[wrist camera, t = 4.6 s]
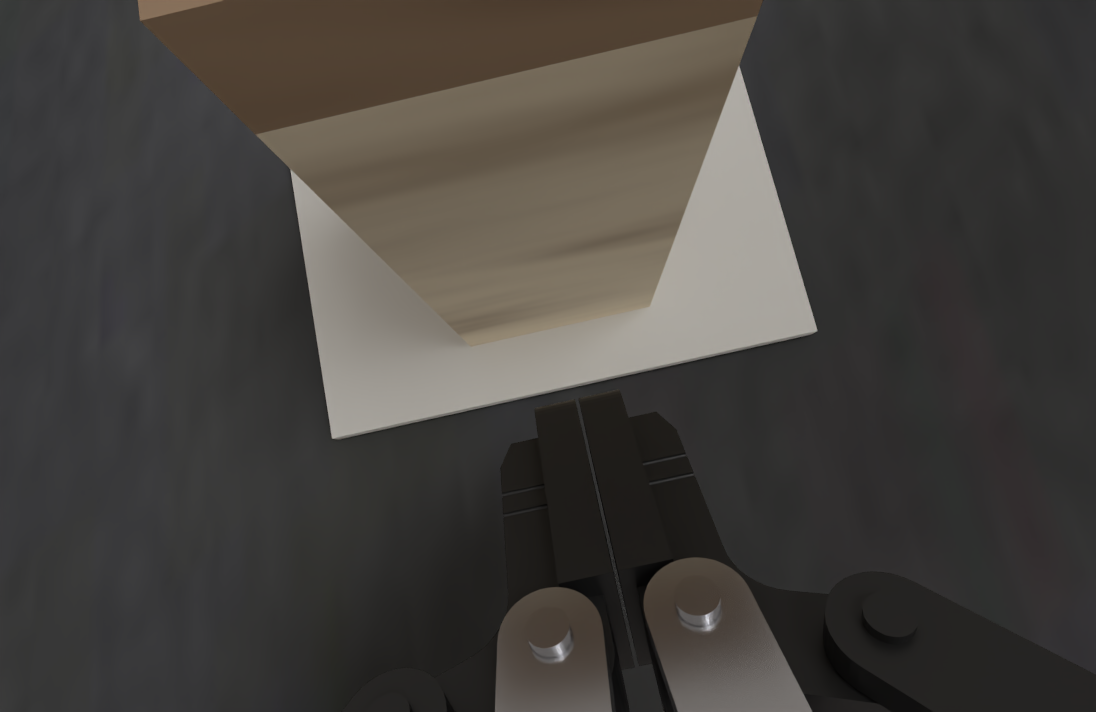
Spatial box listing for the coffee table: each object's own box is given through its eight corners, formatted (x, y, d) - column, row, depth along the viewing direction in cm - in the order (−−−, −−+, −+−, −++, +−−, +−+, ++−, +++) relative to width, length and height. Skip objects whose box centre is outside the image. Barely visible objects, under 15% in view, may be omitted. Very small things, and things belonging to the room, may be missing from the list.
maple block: (438, 179, 23) (80, -486, 7) (608, 140, 22) (648, -635, 7) (470, 346, 21) (140, 20, 6) (649, 306, 21) (816, -144, 6)
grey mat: (246, -154, 26) (238, -168, 25) (639, -252, 26) (640, -268, 25) (338, 439, 22) (332, 438, 21) (811, 334, 21) (817, 330, 21)
